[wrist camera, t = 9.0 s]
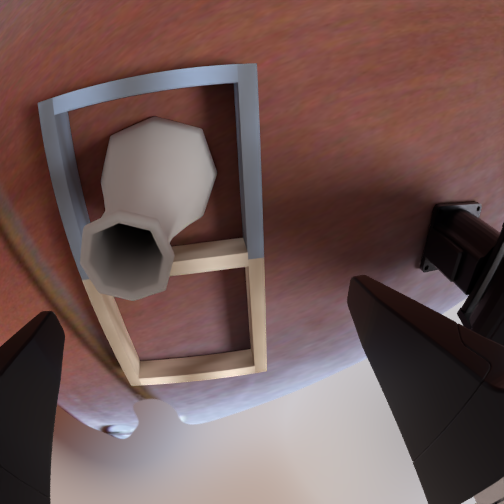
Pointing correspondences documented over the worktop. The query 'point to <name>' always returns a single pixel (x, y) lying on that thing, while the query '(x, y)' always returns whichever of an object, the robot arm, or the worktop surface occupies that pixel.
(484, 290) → the robot arm
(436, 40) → the worktop surface
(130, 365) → the caddy
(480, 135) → the worktop surface
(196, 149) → the flask
